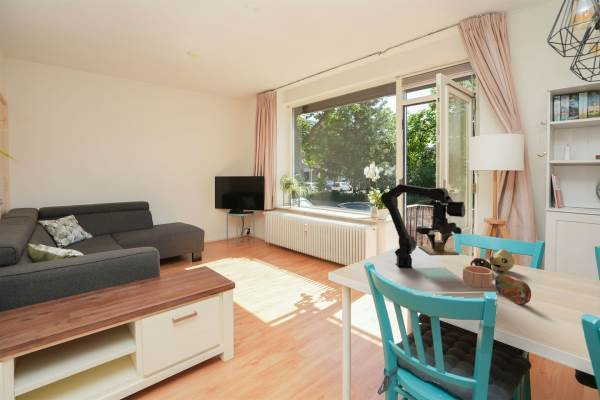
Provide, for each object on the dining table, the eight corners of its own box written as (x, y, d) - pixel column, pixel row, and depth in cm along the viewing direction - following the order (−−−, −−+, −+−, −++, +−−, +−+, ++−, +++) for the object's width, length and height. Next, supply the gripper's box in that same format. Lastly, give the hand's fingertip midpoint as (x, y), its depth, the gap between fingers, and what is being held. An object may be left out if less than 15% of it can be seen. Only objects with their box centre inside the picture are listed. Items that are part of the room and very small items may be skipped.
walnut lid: (430, 255, 137) (430, 244, 136) (418, 247, 150) (418, 238, 149) (459, 255, 137) (459, 244, 136) (445, 247, 150) (445, 237, 149)
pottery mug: (499, 277, 140) (493, 263, 138) (478, 285, 142) (473, 271, 140) (485, 263, 152) (480, 250, 149) (466, 270, 154) (461, 257, 151)
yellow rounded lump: (484, 271, 147) (485, 249, 146) (493, 266, 155) (494, 245, 154) (508, 276, 140) (509, 254, 139) (516, 271, 148) (517, 249, 146)
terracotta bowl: (471, 288, 127) (472, 274, 126) (457, 278, 138) (458, 265, 137) (497, 288, 127) (498, 274, 126) (482, 278, 138) (482, 265, 137)
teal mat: (427, 279, 137) (427, 278, 137) (414, 268, 152) (415, 267, 152) (461, 279, 137) (461, 278, 137) (445, 268, 152) (445, 267, 152)
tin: (493, 291, 124) (495, 271, 123) (501, 291, 124) (502, 270, 123) (523, 308, 109) (525, 285, 108) (532, 307, 109) (533, 285, 108)
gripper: (426, 218, 133) (425, 253, 135) (469, 217, 133) (467, 252, 135) (416, 214, 144) (415, 246, 146) (456, 213, 145) (454, 246, 146)
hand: (438, 248), depth 143 cm, fingers closed on walnut lid, 4 cm apart
